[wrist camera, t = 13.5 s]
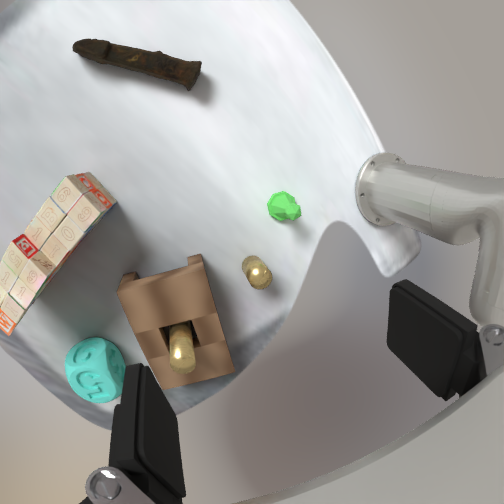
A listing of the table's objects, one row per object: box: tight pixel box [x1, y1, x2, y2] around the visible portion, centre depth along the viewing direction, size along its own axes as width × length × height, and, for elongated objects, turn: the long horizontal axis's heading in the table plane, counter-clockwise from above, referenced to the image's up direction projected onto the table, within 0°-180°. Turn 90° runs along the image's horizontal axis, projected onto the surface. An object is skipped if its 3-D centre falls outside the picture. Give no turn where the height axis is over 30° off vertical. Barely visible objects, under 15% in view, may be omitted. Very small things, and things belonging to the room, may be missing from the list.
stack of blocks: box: [0, 172, 117, 336], centre depth 31 cm, size 21×6×12 cm, turn 130°
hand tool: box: [73, 39, 202, 91], centre depth 30 cm, size 19×4×5 cm, turn 67°
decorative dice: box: [65, 337, 126, 403], centre depth 41 cm, size 8×8×8 cm
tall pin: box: [169, 320, 196, 374], centre depth 40 cm, size 3×3×12 cm
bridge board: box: [117, 254, 235, 390], centre depth 42 cm, size 12×18×6 cm, turn 11°
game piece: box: [267, 191, 301, 221], centre depth 41 cm, size 4×4×6 cm
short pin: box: [242, 256, 272, 289], centre depth 43 cm, size 3×3×5 cm
